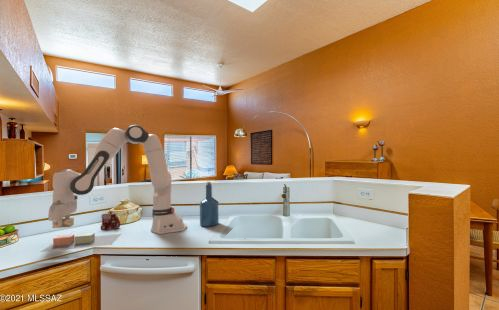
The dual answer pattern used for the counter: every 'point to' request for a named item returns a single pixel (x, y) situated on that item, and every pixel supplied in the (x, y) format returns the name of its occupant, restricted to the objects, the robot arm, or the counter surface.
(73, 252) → the counter surface
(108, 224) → the dark brown lump
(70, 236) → the terracotta brick
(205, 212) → the wine bottle
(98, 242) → the white flat board
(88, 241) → the sage brick
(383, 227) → the counter surface
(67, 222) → the maple brick
